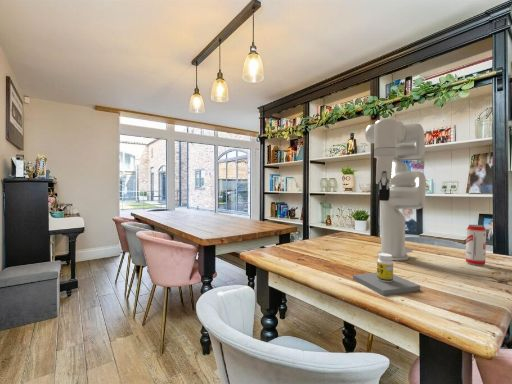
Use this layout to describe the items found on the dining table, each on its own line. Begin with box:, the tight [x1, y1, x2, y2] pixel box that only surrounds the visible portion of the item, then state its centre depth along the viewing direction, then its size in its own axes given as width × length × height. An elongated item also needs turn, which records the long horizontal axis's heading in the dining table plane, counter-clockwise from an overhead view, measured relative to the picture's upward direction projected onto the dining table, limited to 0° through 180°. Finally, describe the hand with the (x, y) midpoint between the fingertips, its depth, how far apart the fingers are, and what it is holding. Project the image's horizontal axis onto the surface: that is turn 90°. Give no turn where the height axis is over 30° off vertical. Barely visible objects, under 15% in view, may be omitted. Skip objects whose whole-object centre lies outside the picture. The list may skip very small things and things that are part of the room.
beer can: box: [465, 224, 487, 267], centre depth 110 cm, size 6×6×16 cm
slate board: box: [352, 271, 421, 296], centre depth 88 cm, size 14×14×2 cm
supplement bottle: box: [376, 253, 394, 282], centre depth 87 cm, size 5×5×8 cm
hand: (384, 199), depth 100 cm, fingers open, 9 cm apart
